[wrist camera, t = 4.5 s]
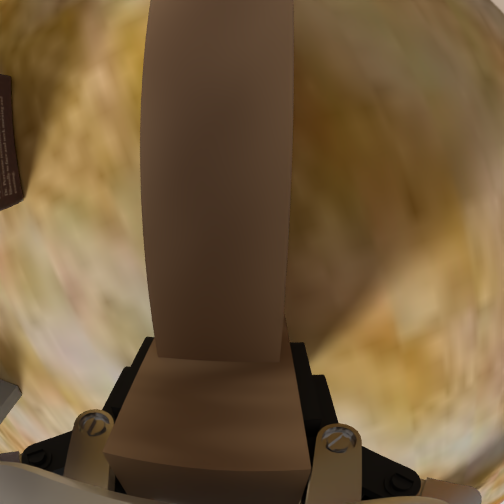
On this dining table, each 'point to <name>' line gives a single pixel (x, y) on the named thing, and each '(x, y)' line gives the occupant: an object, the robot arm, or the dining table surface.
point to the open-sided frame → (8, 398)
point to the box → (7, 150)
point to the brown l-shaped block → (215, 262)
